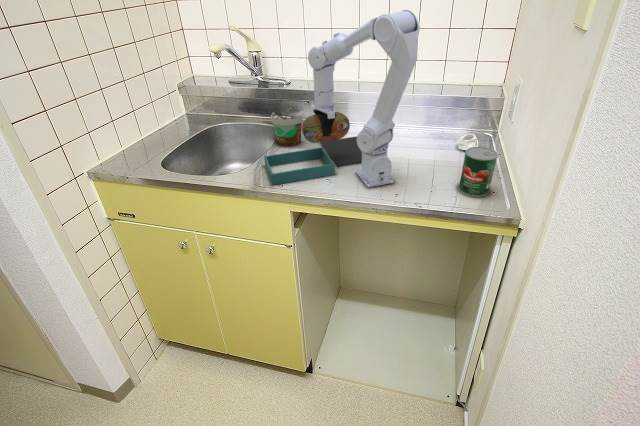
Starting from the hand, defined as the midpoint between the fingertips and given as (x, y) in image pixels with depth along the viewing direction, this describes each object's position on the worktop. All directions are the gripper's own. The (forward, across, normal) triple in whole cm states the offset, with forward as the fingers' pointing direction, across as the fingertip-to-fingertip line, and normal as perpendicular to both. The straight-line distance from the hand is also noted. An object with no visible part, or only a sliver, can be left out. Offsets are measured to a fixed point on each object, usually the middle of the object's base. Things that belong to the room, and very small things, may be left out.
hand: (325, 133), depth 119 cm
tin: (+2, 0, 0) cm, 2 cm away
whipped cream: (+9, +9, +47) cm, 48 cm away
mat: (+9, -4, +10) cm, 14 cm away
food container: (+9, -18, -10) cm, 22 cm away
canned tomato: (+9, +32, +32) cm, 47 cm away
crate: (+9, +4, -10) cm, 14 cm away
